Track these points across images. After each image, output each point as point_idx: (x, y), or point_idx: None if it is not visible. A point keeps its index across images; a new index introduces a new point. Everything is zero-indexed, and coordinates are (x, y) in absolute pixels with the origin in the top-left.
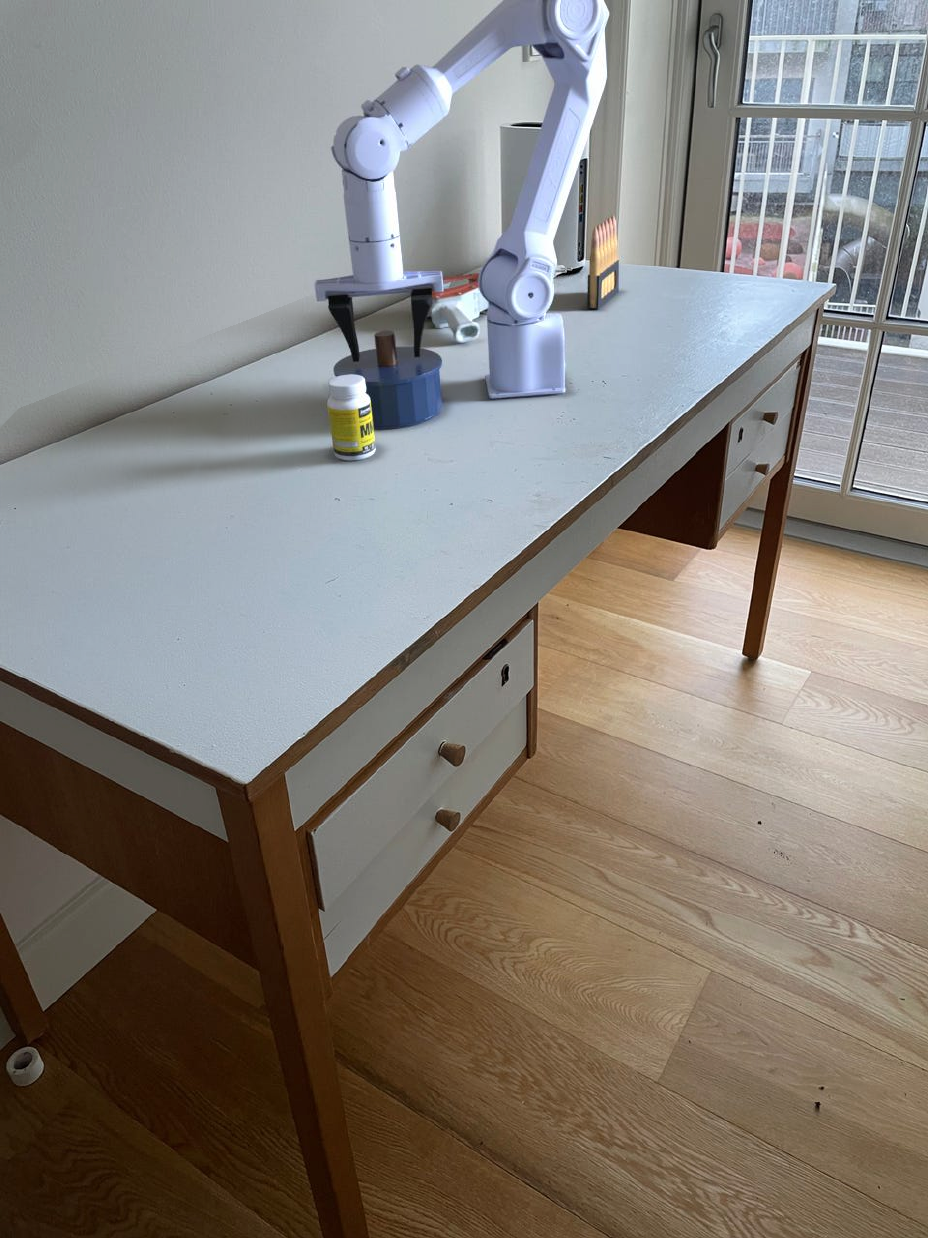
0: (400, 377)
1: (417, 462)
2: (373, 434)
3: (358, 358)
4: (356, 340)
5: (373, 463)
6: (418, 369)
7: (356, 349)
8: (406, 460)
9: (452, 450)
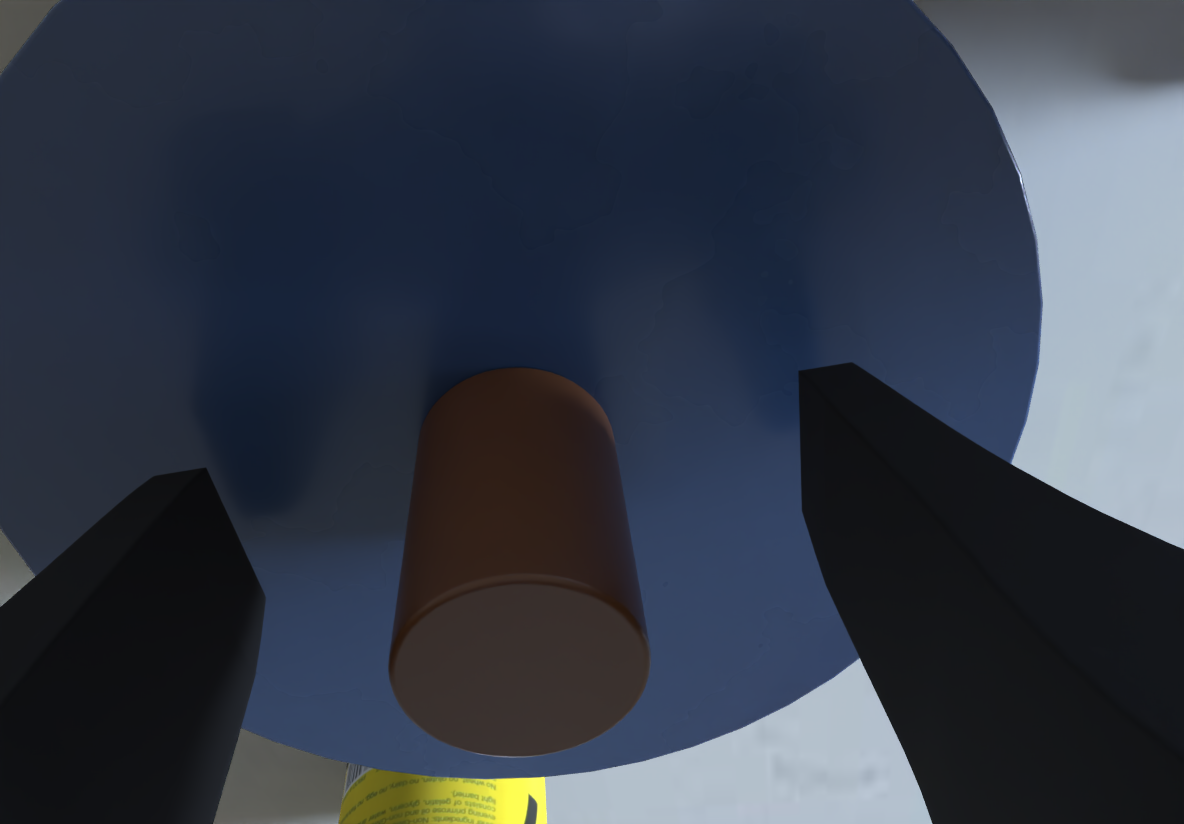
0: (683, 717)
1: (733, 789)
2: (546, 817)
3: (260, 620)
4: (160, 645)
5: (554, 802)
6: (815, 586)
7: (239, 718)
8: (687, 778)
9: (878, 704)
